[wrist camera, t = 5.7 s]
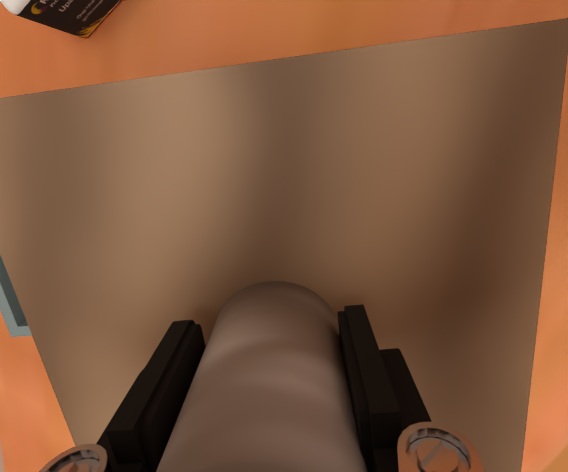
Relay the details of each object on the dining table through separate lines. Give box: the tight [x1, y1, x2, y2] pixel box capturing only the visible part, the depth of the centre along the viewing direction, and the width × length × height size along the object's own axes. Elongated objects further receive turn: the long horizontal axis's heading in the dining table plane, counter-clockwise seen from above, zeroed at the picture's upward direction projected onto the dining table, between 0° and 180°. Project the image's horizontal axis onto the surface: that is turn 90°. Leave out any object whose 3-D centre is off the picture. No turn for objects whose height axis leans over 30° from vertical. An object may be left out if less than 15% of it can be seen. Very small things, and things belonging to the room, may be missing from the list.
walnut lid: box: [0, 18, 568, 472], centre depth 9 cm, size 16×16×7 cm
